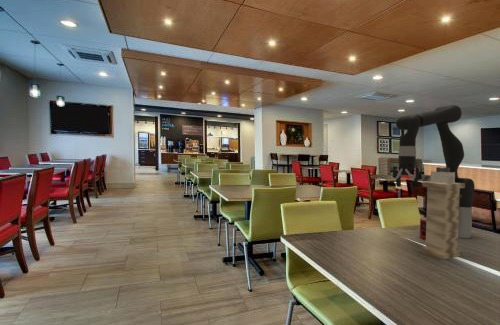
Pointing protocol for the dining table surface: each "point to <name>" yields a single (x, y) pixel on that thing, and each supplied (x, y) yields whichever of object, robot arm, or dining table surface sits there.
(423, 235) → the canned food
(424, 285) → the dining table surface
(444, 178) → the grey elongated piece
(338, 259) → the dining table surface
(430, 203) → the stand
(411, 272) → the dining table surface
